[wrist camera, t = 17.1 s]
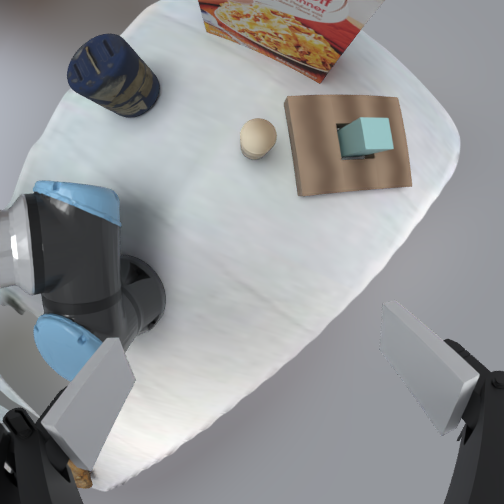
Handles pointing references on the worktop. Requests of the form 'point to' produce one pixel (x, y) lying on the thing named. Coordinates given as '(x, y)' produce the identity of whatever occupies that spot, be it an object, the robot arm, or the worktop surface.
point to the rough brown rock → (80, 476)
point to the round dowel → (257, 138)
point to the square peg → (365, 137)
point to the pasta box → (291, 28)
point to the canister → (113, 76)
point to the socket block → (328, 150)
